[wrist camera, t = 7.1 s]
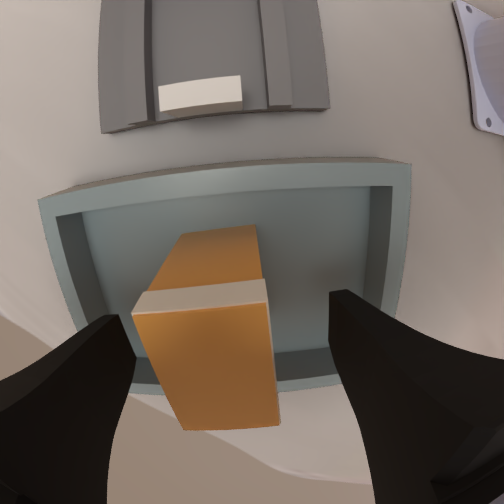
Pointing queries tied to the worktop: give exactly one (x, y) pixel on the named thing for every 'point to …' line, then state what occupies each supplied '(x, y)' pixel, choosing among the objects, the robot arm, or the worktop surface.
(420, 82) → the worktop surface
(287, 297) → the slate tray
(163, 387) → the block
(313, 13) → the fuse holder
